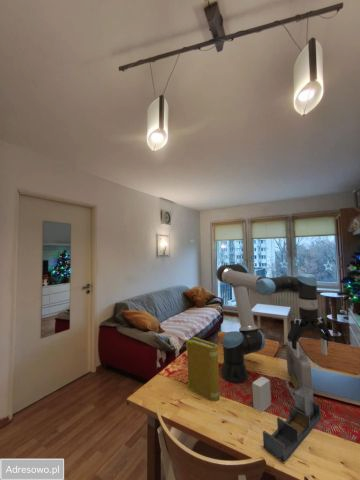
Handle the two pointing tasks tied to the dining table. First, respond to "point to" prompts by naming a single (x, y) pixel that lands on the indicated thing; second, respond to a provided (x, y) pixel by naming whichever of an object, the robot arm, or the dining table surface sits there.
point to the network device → (297, 370)
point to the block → (261, 394)
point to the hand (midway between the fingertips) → (310, 355)
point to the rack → (293, 425)
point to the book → (203, 368)
